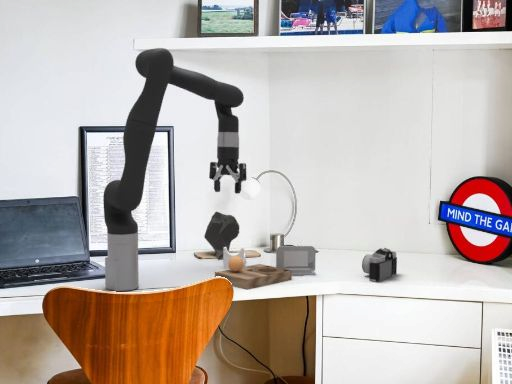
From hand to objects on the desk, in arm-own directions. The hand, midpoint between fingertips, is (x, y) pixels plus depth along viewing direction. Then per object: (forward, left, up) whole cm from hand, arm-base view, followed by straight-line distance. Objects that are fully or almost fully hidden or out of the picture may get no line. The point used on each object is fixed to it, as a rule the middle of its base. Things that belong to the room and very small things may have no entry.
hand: (227, 192), depth 231 cm
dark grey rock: (+14, +19, -27) cm, 36 cm away
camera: (+29, -44, -27) cm, 59 cm away
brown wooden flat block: (-6, -19, -27) cm, 33 cm away
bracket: (+7, +4, -27) cm, 29 cm away
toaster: (+13, -20, -27) cm, 36 cm away
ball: (-10, -16, -21) cm, 28 cm away
